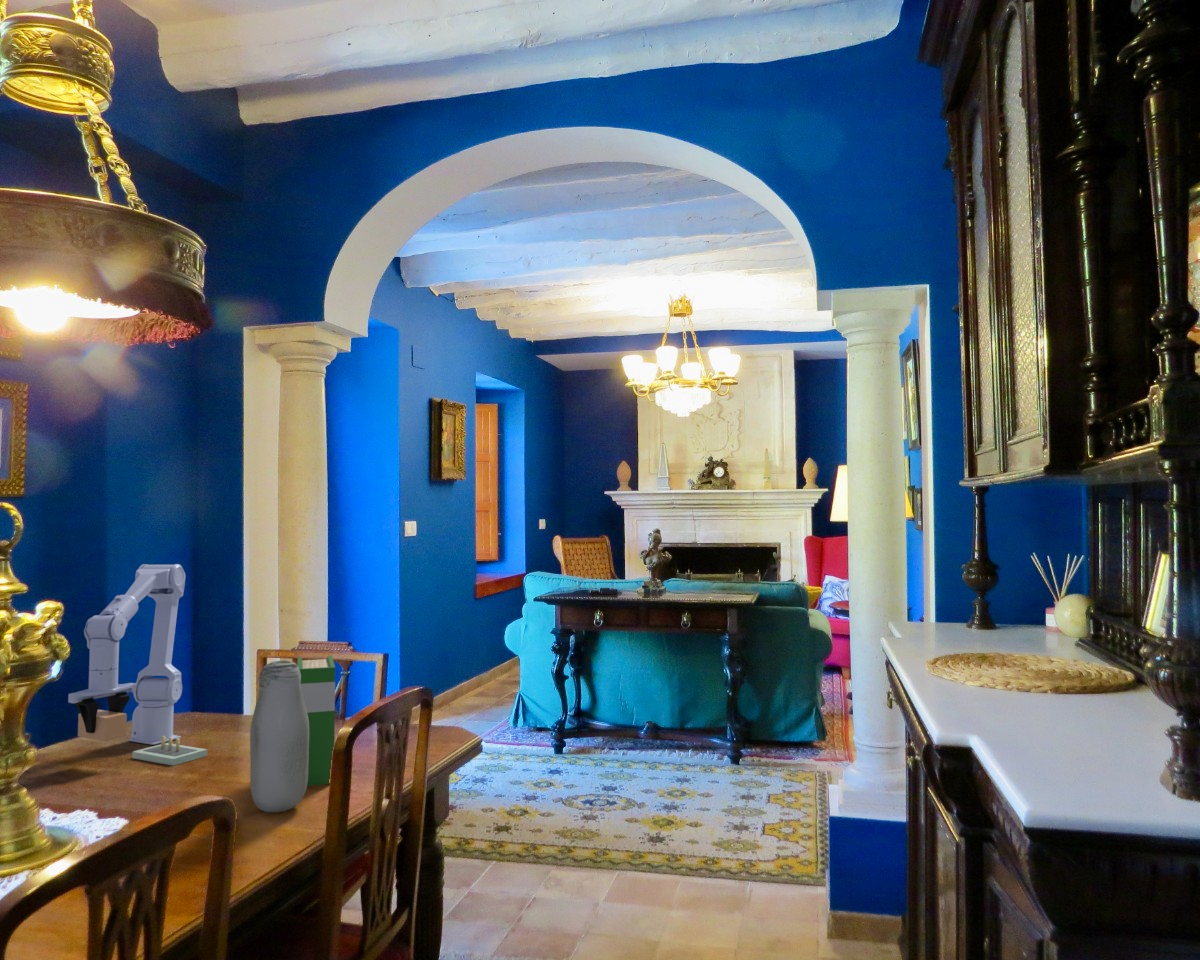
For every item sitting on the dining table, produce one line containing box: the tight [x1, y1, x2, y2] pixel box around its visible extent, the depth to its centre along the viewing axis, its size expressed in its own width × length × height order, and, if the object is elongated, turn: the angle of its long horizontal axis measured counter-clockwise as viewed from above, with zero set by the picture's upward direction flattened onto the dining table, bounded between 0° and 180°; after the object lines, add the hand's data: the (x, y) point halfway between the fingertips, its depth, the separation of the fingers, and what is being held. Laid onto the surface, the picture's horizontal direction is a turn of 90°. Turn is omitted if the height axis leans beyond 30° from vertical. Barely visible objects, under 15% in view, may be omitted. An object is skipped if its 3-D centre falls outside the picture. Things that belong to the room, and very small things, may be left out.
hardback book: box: [297, 655, 336, 787], centre depth 186 cm, size 18×7×24 cm, turn 20°
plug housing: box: [77, 709, 128, 742], centre depth 191 cm, size 10×5×5 cm, turn 64°
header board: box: [131, 736, 208, 766], centre depth 199 cm, size 14×9×4 cm, turn 64°
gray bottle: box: [249, 659, 309, 814], centre depth 162 cm, size 10×10×28 cm
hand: (102, 729), depth 191 cm, fingers closed on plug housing, 5 cm apart
